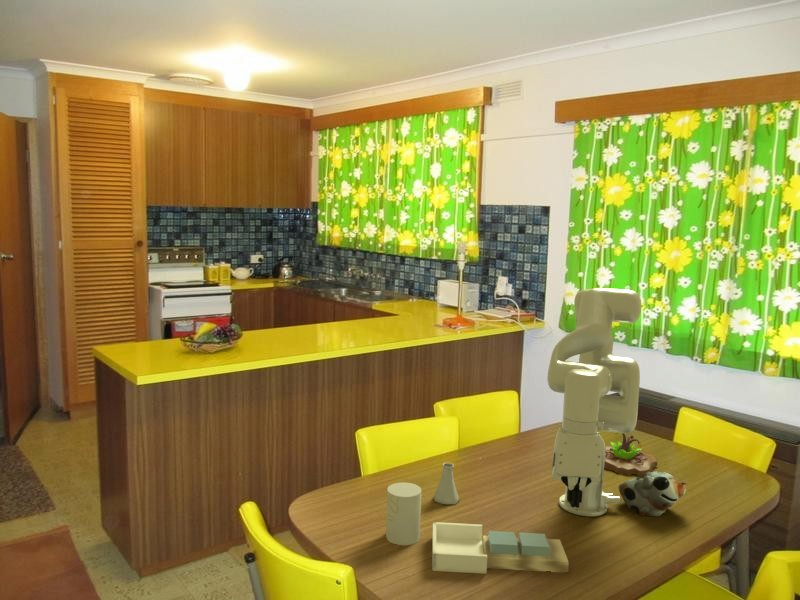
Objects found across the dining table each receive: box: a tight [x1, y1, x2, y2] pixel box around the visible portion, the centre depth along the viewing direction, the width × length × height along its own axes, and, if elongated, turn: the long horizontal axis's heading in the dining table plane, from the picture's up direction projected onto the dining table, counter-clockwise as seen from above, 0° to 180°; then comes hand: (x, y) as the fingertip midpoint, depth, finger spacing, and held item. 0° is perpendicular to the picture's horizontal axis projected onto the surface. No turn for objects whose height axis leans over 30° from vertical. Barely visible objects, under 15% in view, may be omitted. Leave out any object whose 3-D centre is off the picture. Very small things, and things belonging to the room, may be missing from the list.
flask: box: [433, 462, 460, 505], centre depth 176 cm, size 7×7×10 cm
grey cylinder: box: [385, 482, 422, 546], centre depth 155 cm, size 8×8×12 cm
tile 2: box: [517, 532, 549, 556], centre depth 147 cm, size 6×6×2 cm
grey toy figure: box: [618, 470, 688, 517], centre depth 174 cm, size 15×12×14 cm
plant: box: [604, 432, 658, 477], centre depth 208 cm, size 20×20×11 cm
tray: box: [431, 521, 488, 574], centre depth 148 cm, size 12×15×4 cm
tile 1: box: [487, 530, 518, 555], centre depth 147 cm, size 6×6×2 cm
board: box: [482, 534, 570, 573], centre depth 147 cm, size 18×10×2 cm, turn 87°
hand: (573, 504), depth 145 cm, fingers closed
